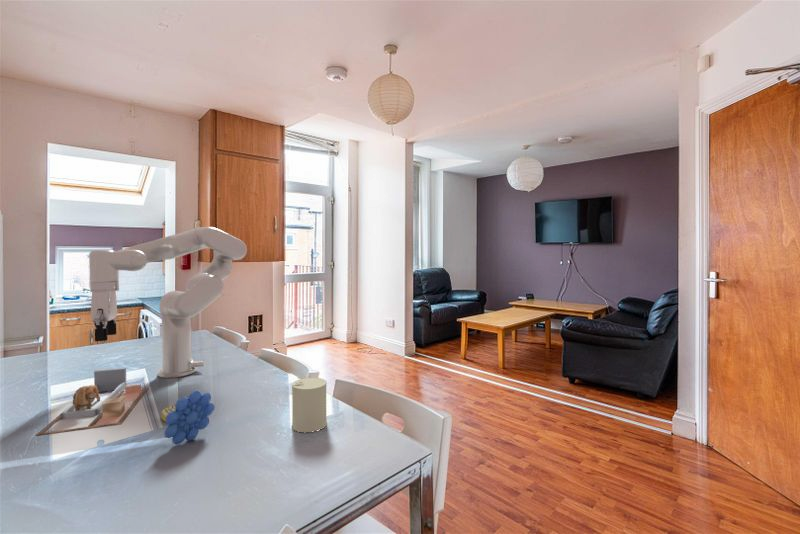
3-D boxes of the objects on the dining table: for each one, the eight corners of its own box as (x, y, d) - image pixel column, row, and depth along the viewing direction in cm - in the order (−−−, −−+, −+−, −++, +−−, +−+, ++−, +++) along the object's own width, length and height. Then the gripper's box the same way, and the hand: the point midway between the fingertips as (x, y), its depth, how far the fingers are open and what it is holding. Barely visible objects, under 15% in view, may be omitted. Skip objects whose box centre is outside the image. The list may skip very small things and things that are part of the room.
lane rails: (148, 391, 125) (148, 388, 125) (121, 427, 99) (121, 423, 99) (82, 399, 119) (82, 395, 119) (36, 439, 93) (35, 434, 93)
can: (289, 421, 104) (289, 378, 103) (323, 415, 107) (323, 374, 107) (294, 436, 95) (294, 389, 95) (330, 429, 99) (330, 384, 98)
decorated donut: (211, 418, 106) (211, 405, 105) (168, 431, 98) (168, 417, 98) (198, 407, 113) (198, 395, 113) (157, 419, 105) (156, 405, 105)
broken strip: (142, 392, 124) (142, 383, 124) (117, 425, 100) (117, 414, 100) (125, 394, 122) (125, 385, 122) (95, 428, 99) (95, 417, 98)
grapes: (206, 426, 100) (205, 382, 100) (219, 434, 96) (218, 387, 96) (157, 444, 91) (156, 395, 90) (169, 453, 87) (168, 402, 86)
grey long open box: (126, 387, 129) (126, 367, 128) (98, 418, 105) (97, 393, 105) (96, 390, 126) (95, 370, 125) (60, 422, 102) (59, 397, 102)
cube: (124, 410, 108) (124, 396, 107) (120, 416, 104) (120, 402, 104) (107, 412, 106) (107, 398, 106) (102, 418, 102) (102, 404, 102)
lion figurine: (96, 418, 105) (95, 386, 104) (71, 423, 102) (70, 390, 101) (102, 401, 117) (101, 372, 117) (79, 405, 114) (79, 375, 114)
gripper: (99, 285, 132) (101, 333, 133) (80, 289, 116) (82, 344, 117) (125, 284, 135) (126, 331, 136) (110, 288, 119) (111, 342, 120)
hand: (106, 337), depth 126 cm, fingers open, 9 cm apart
